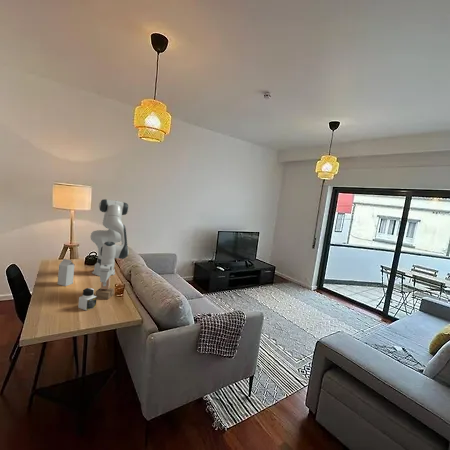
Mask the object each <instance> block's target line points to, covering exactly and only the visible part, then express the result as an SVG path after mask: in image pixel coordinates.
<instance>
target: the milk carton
mask: <svg viewBox="0 0 450 450" xmlns="http://www.w3.org/2000/svg"><path fill="white" fill-rule="evenodd" d="M74 275H75V264H74V263H73V262H72V259H66V258H62V261H61V262H60V263H59V264H58V274H57V285H58V286H63V287H67V286H69V285H72V284H74Z"/></svg>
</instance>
